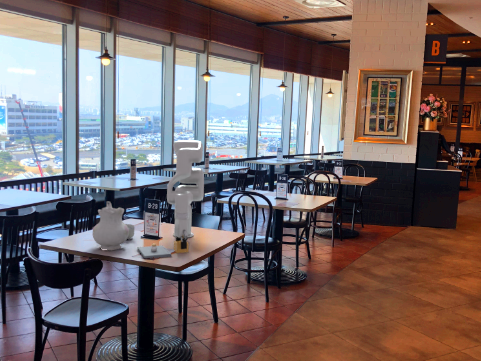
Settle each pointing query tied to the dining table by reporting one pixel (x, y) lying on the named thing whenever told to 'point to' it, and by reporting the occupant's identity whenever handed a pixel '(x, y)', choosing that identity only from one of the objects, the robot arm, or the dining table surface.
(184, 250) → the yellow rounded block
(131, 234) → the teacup
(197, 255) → the dining table surface
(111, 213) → the ceramic pitcher
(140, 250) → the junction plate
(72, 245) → the dining table surface
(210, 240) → the dining table surface
